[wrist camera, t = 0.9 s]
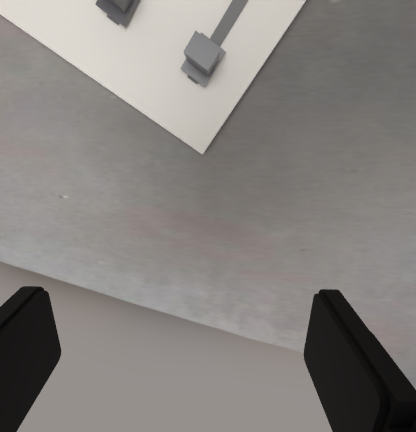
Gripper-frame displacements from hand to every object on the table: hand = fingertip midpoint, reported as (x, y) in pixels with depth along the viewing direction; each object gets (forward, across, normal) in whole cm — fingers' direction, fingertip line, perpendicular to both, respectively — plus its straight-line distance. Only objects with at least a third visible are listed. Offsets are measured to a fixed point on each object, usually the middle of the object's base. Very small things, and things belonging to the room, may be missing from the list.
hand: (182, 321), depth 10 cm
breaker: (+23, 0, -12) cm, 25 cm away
